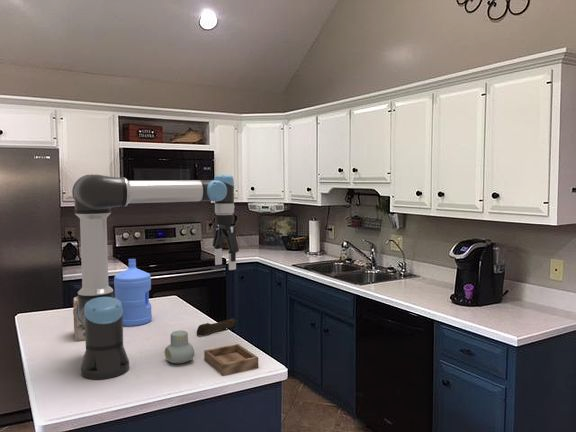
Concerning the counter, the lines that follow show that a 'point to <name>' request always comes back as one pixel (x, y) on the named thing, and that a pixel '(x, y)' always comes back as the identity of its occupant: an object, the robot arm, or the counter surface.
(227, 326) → the hand tool
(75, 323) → the decorative jar
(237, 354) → the tray
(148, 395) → the counter surface
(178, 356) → the air freshener
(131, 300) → the water jug
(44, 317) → the counter surface
